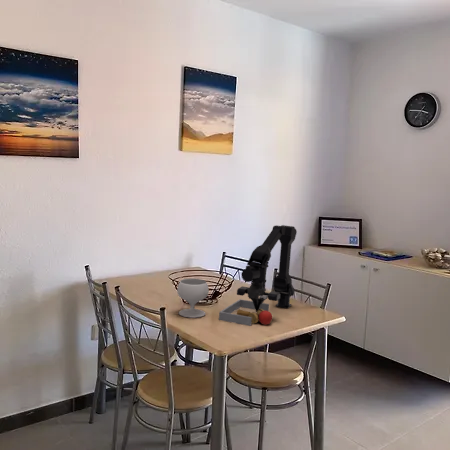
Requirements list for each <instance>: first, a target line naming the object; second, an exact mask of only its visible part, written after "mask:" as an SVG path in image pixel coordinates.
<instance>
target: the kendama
mask: <svg viewBox="0 0 450 450" xmlns="http://www.w3.org/2000/svg"><path fill="white" fill-rule="evenodd" d="M236 315H241V316H247V317H252V322H251V324H257V323H258V322H259V323H261V325H264V326H265V325H270V324H271V323H272V321H273V315H272V313H271V311H266V310H265V311H264V310H263V309H258V311H257V312H253V311H247V310H243V309H240V308H238V309H237V310H236Z"/></svg>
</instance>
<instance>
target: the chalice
mask: <svg viewBox="0 0 450 450" xmlns="http://www.w3.org/2000/svg"><path fill="white" fill-rule="evenodd" d="M176 292H177V295H178V296H179V298H180V299H182V300H184V301H185V302H187V303H188V304H189V307H190V308H185V309H180V311H178V315H180V316H181V317H185V318H192V319H194V318H201V317H203V316H206V312H205V311H204V310H201V309H197V308H195V306H196V304H197V303H199V302H200V301H203V300H204V299H206V298H207V297H208V295H209V293H210V291H209V284H208V283H207V281H206V280H205V279H200V278H190V277H189V278H183V279H181V280H179V283H178V285H177V290H176Z"/></svg>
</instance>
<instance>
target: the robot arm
mask: <svg viewBox="0 0 450 450" xmlns="http://www.w3.org/2000/svg"><path fill="white" fill-rule="evenodd" d="M271 229H272V230H271V231H270V233H269V234H268V235H267V237H266V238H265V239H264V241H263V243H262V244H260V245H258V246H257V247H255V248H254V250H252V252H251V254H250V256H249V259H248V261H247V264H246V266H245V268H244V269H243V270H242V272H241V278H242V280H243V281H244V282H246V283H250V282H251V284H250V286H239V288H237V289H236V295H237V296H245V295H246V294H247V297H248V299H250V301H253V303H254V307H255V309H254V310H255V313H257V311H258V309H260V308H261V305H262V303H264V301H266V300H267V299H268V300H269V301H272V302H276V301H277V303H276V304H275V307H276V308H282V309H283V308H284V309H289V308H290V307H292V305H293V304H292V303H291V302H290V301H291V297H293V296H294V295H295V292H296V290H295V288H294V286H293V284H292V283H293V280H292V278H291V275H290V265H291V252H292V244H293V243H294V241H295V240H296V237H297V234H298V233H297V232H298V231H297V229H296V227H295V226H292V225H284V224H282V225H273V227H272V228H271ZM278 241H279V243H280V253H279V266H278V274H277V275H276V276H274V278H273V280H274V281H273V290H271V291H270V292H266V290H267V288H266V283H267V279H266V278H267V268H268V267H269V264H268V263H269V261H270V259H271V257H272V254H271V252H272V251H273V249H274V247H275V246H276V244H277V243H278Z"/></svg>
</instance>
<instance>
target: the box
mask: <svg viewBox="0 0 450 450" xmlns="http://www.w3.org/2000/svg"><path fill="white" fill-rule="evenodd" d="M240 308H243V309H251V310H255V307H254V303H253V301H252V300H247V299H242V298H240V299H237V300H236V301H235V302H233V303H231V304H230V305H228V306H226V307H225V308H223V309H222V310H220V311H219V312H218V320H219V321H224V322H229V323H234V324H237V325H238V324H239V325H243V326H249V327H251V326H252V317H247V316H241V315H237V313H236V314H235V313H234V312H235V311H238V310H239V309H240ZM260 309H263V310H264V311H265V310H266V311H269V309H270V303H264V302H263V303H262V305H261V308H260ZM269 312H270V311H269Z"/></svg>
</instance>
